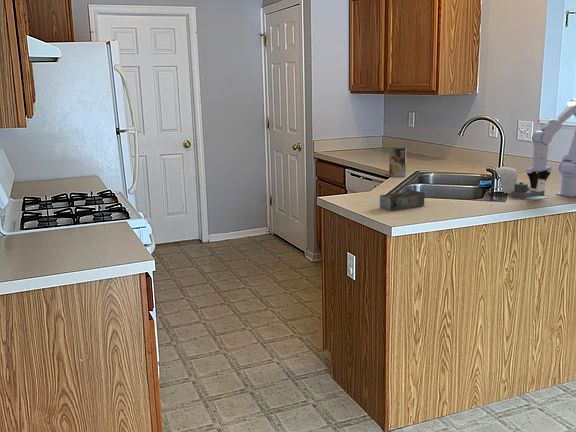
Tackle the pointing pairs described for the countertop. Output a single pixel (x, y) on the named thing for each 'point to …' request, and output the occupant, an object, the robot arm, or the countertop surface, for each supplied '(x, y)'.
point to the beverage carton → (402, 200)
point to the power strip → (527, 194)
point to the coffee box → (397, 162)
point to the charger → (539, 186)
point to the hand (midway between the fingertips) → (537, 187)
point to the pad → (536, 197)
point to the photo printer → (507, 178)
